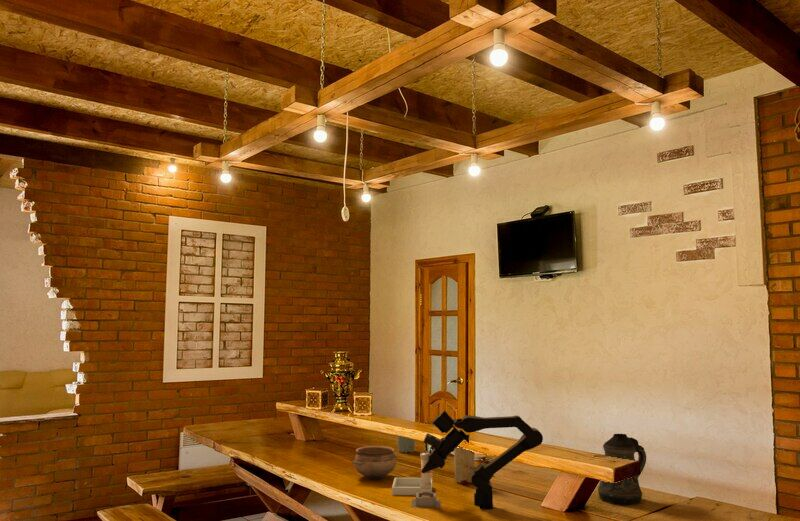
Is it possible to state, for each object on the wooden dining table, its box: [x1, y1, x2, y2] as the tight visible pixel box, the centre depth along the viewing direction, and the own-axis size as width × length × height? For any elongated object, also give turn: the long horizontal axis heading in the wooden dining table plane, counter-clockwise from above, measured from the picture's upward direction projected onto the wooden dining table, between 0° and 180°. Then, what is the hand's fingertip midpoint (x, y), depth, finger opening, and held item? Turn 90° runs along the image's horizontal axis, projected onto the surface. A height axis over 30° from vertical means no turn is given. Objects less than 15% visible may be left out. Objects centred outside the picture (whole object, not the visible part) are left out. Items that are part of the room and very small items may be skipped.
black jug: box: [597, 433, 647, 506], centre depth 247 cm, size 16×19×25 cm
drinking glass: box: [397, 435, 416, 453], centre depth 337 cm, size 10×10×12 cm
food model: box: [453, 437, 476, 485], centre depth 271 cm, size 10×7×20 cm
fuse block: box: [410, 491, 442, 509], centre depth 238 cm, size 11×10×5 cm
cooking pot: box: [351, 445, 398, 480], centre depth 281 cm, size 25×19×12 cm
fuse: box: [419, 452, 432, 489], centre depth 239 cm, size 4×4×12 cm
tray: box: [391, 477, 433, 496], centre depth 257 cm, size 16×16×4 cm
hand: (422, 471), depth 239 cm, fingers closed on fuse, 4 cm apart
